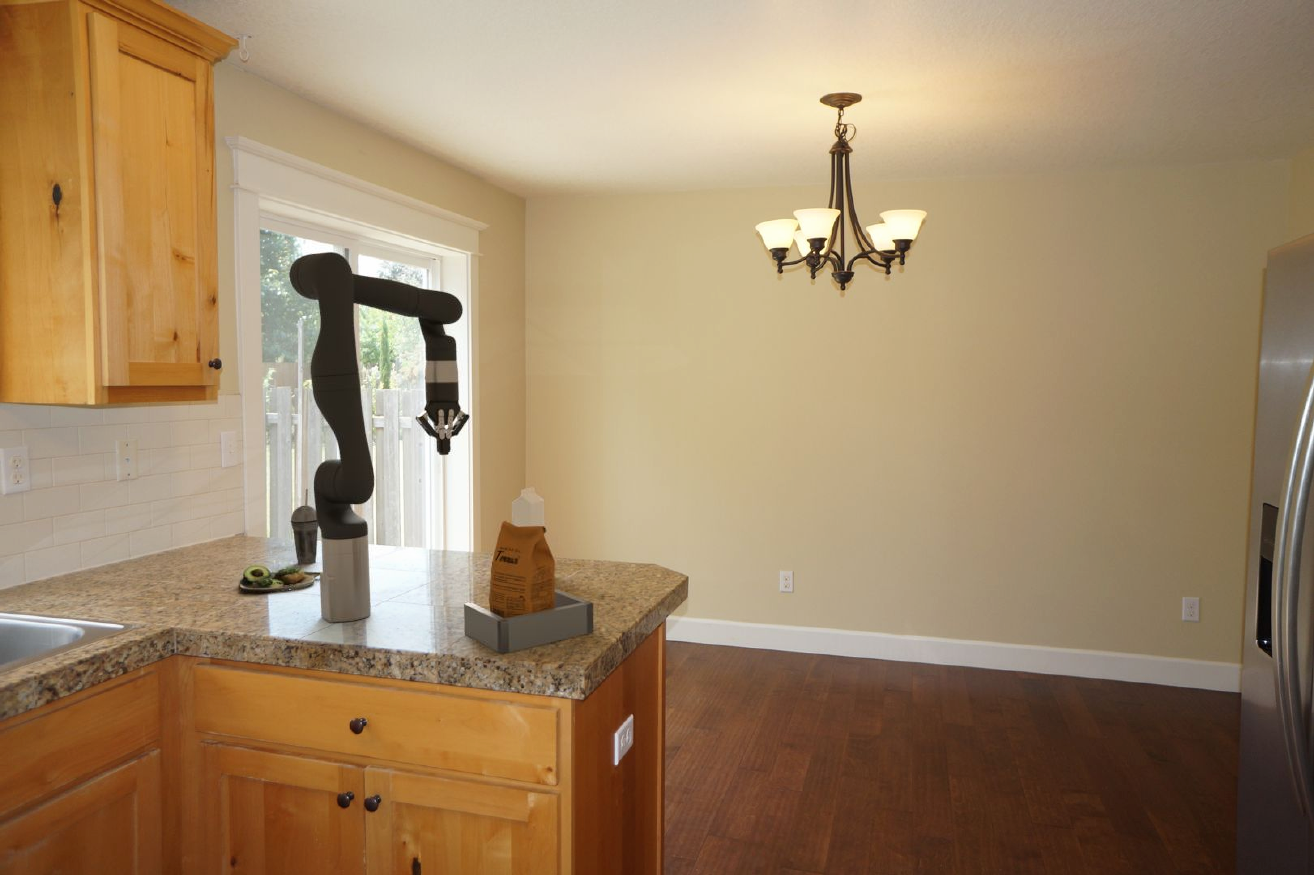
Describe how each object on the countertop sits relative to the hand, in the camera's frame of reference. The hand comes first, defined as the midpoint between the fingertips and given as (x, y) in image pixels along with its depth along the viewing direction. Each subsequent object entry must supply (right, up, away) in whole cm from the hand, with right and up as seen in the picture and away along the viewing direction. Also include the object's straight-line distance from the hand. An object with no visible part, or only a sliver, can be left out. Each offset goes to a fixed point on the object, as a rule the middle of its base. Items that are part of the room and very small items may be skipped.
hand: (443, 454), depth 200 cm
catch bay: (+24, -34, -32) cm, 53 cm away
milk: (+18, -31, +16) cm, 39 cm away
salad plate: (-43, -32, +8) cm, 55 cm away
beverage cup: (-45, -30, +32) cm, 63 cm away
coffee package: (+24, -35, -33) cm, 54 cm away
